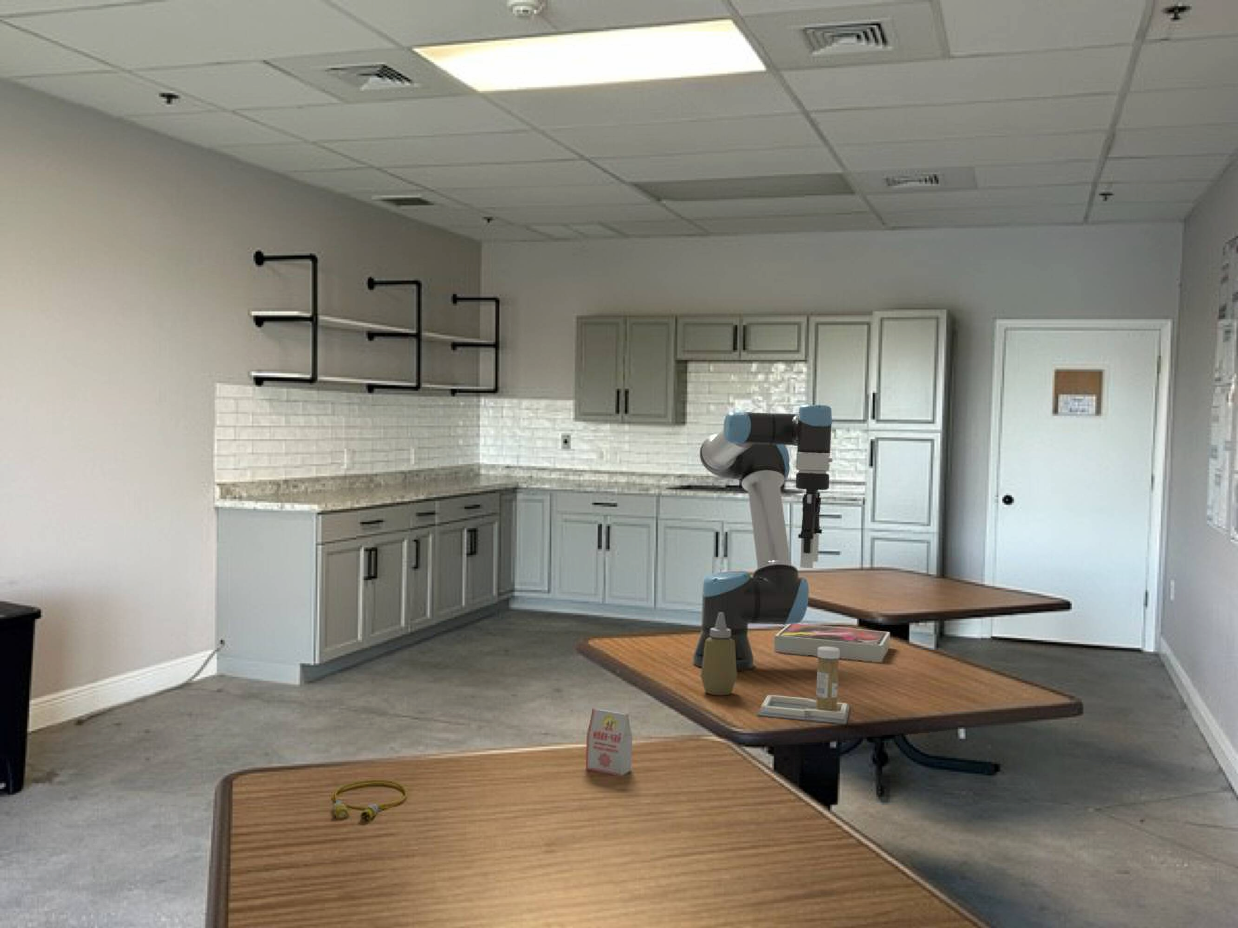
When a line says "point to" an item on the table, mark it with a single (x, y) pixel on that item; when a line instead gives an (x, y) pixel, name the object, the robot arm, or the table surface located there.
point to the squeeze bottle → (719, 660)
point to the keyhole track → (802, 710)
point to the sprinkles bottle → (827, 678)
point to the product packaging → (833, 641)
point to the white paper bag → (609, 743)
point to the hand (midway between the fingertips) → (809, 564)
